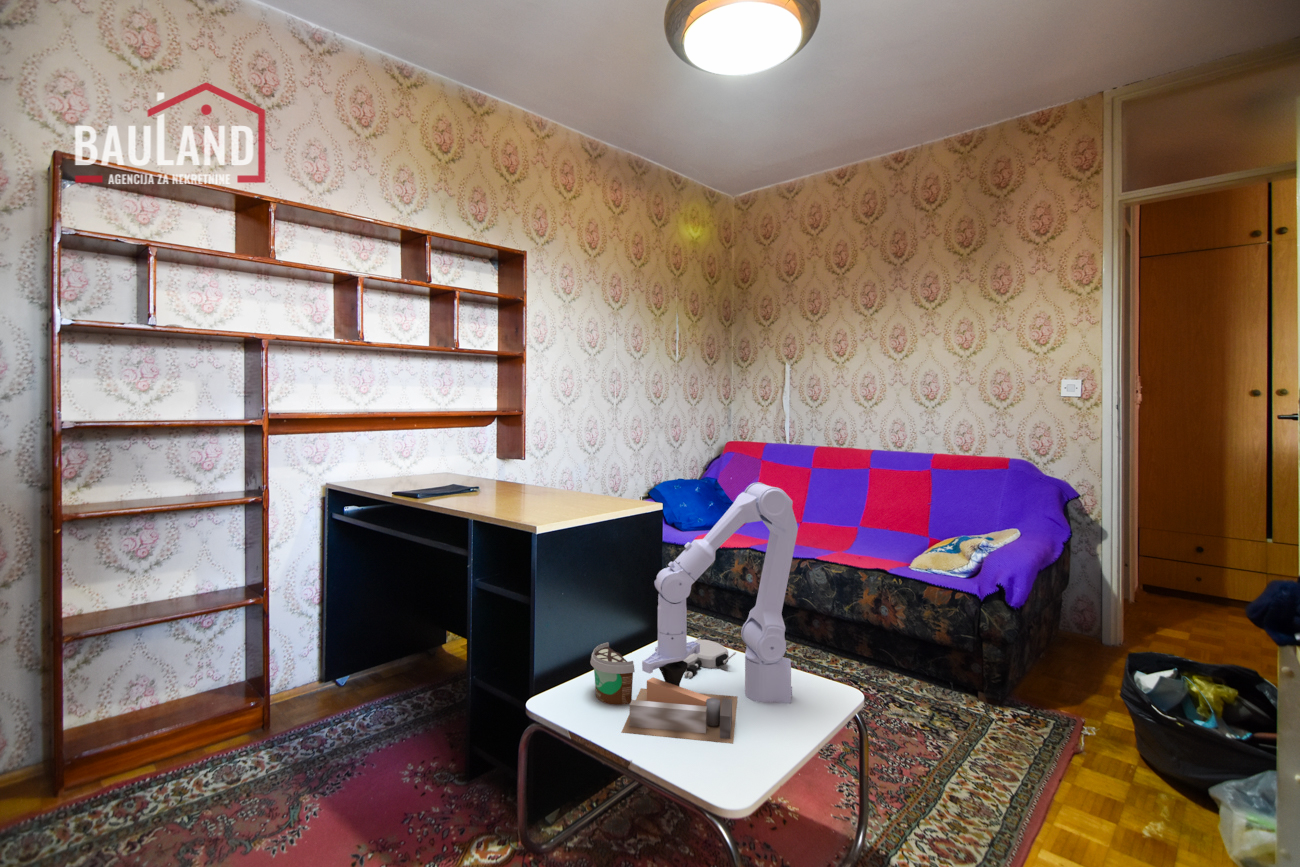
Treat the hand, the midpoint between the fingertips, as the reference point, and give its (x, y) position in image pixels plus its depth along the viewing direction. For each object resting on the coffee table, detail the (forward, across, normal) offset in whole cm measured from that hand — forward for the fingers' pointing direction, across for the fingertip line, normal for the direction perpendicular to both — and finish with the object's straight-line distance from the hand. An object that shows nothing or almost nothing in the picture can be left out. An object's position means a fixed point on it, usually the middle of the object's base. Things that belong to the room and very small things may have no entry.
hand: (672, 697), depth 122 cm
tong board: (+2, +2, +4) cm, 5 cm away
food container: (+2, +8, -11) cm, 14 cm away
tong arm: (+1, +2, +4) cm, 5 cm away
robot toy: (+3, -18, -10) cm, 21 cm away
